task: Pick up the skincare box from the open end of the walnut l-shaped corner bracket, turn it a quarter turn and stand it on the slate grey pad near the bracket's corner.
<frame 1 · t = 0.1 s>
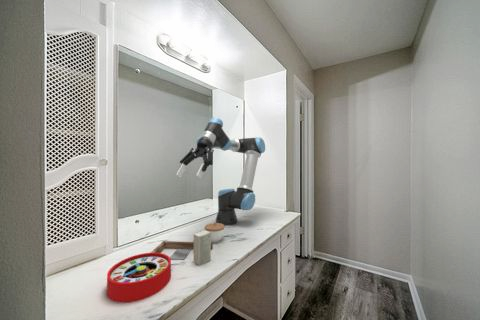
hand: (188, 176, 88), 36 cm above the vanity, tool tilted 35°, fingers open, 13 cm apart
toy clock: (141, 283, 68), on the vanity
skincare box: (202, 261, 81), on the vanity
walnut l-shaped corner bracket: (182, 255, 86), on the vanity
lidded jar: (214, 240, 103), on the vanity
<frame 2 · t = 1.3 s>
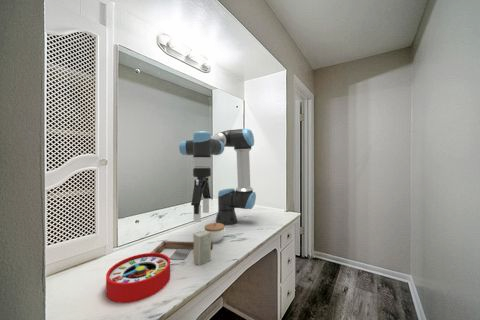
hand: (201, 216, 82), 19 cm above the vanity, tool pointing down, fingers open, 13 cm apart
nothing on the vanity moved.
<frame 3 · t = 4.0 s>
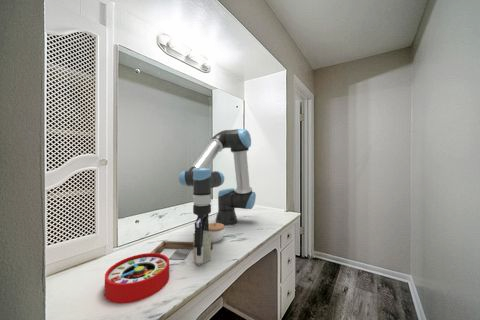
hand: (202, 257, 81), 2 cm above the vanity, tool pointing down, fingers closed on skincare box, 7 cm apart
skincare box: (202, 261, 81), on the vanity, touching gripper
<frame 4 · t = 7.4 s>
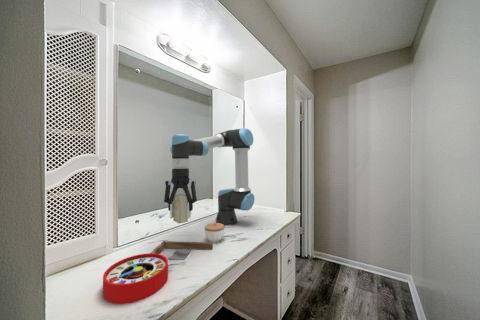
hand: (180, 217, 87), 17 cm above the vanity, tool pointing down, fingers closed on skincare box, 7 cm apart
skincare box: (180, 221, 87), point 15 cm above the vanity, touching gripper
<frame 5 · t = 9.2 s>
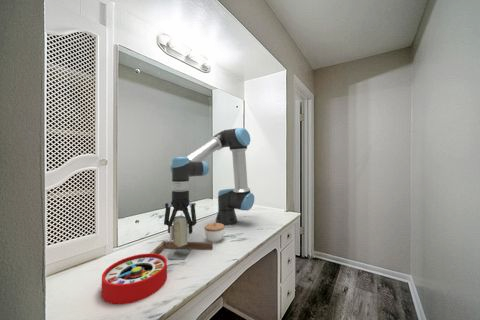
hand: (180, 240, 87), 7 cm above the vanity, tool pointing down, fingers closed on skincare box, 7 cm apart
skincare box: (180, 244, 87), point 5 cm above the vanity, touching gripper
when the fingers open (3 cm above the vanity, at t = 10.8 s): skincare box stays where it is, resting on walnut l-shaped corner bracket.
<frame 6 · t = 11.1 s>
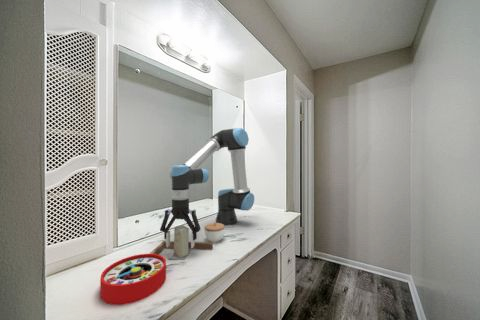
hand: (180, 246, 87), 4 cm above the vanity, tool pointing down, fingers open, 11 cm apart
skincare box: (181, 254, 87), resting on walnut l-shaped corner bracket
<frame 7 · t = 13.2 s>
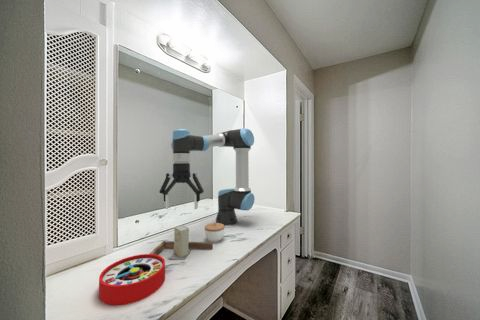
hand: (181, 208, 88), 21 cm above the vanity, tool pointing down, fingers open, 13 cm apart
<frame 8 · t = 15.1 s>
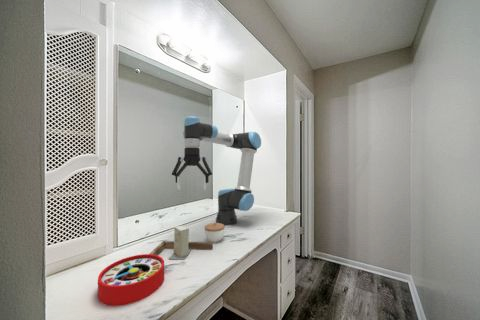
hand: (192, 189, 96), 29 cm above the vanity, tool pointing down, fingers open, 13 cm apart
at the end: skincare box 0.4 cm from the target spot, resting on walnut l-shaped corner bracket; skincare box tilted 0°; the gripper is holding nothing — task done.
